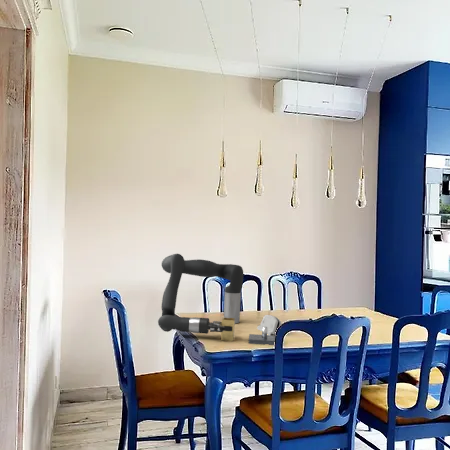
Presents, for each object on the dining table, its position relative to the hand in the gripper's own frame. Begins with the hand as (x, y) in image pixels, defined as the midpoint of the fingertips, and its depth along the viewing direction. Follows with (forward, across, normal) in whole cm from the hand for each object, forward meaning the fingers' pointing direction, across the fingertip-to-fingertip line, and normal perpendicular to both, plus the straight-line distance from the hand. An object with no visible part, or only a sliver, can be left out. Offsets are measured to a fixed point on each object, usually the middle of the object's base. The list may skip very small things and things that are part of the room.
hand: (232, 327), depth 233 cm
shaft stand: (+16, 0, +6) cm, 17 cm away
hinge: (+18, +22, +6) cm, 29 cm away
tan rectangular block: (-2, 0, +6) cm, 6 cm away
